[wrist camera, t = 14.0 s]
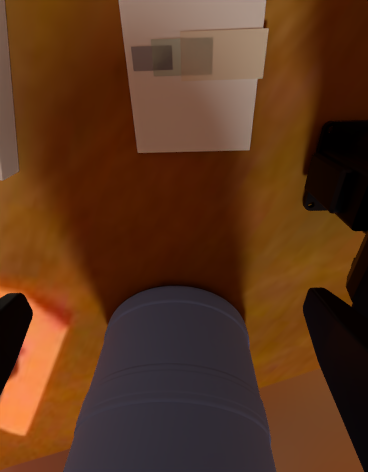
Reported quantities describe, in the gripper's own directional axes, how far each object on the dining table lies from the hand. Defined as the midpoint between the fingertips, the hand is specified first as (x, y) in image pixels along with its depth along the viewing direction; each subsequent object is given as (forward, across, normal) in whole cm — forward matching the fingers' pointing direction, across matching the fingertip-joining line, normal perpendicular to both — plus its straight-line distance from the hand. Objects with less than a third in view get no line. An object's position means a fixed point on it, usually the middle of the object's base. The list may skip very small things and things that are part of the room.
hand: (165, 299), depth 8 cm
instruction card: (+13, -1, -7) cm, 15 cm away
